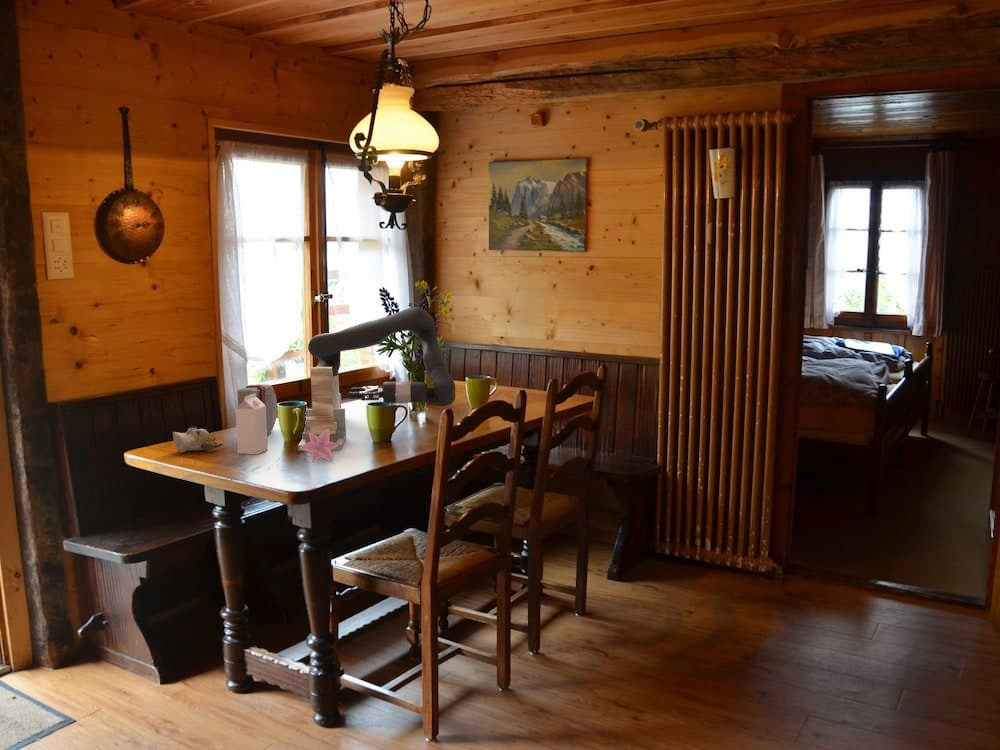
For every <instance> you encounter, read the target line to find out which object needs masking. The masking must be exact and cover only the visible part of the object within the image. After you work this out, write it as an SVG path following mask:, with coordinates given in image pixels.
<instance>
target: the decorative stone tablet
mask: <svg viewBox="0 0 1000 750" xmlns="http://www.w3.org/2000/svg"><path fill="white" fill-rule="evenodd" d="M236 393H237V395H236V396H237V407H238V406H239V405H240V404H241V403H242V402H243V401H244V397H246V396H249V395H252V394H255V393H256V397H257V398H258V399H259V400H260V401H261V402H262V403H263V404H264V405H265V406H266V422H267V436H268V435H270V433H271V432H272V431H273V430H274V427H275V424H276V421H277V415H278V412H277V411H278V404H277V395H276V393H275V390H274V388H273V386H272V385H270V384H249V385H246V386H245V387H243V388H239V389H237V391H236Z"/></svg>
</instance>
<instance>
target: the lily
mask: <svg viewBox="0 0 1000 750" xmlns="http://www.w3.org/2000/svg"><path fill="white" fill-rule="evenodd" d="M309 437H310V441H311V442H308V443H306V444H304V445H302V446H301V447H300V449H302V450H305V451H304V452H309V453H311V462H312V463H315V462H316V461H318V459H319V458H320V457H322V458H323V459H325V460H327V461H329V462H333V461H334V457H333V454H332V453H333V452H332V450H331V449H333V448H335V447H337V446H338V444H337V443H334V442H329V439H330V431H329V429H326V430H325V431H324V432H322V433H321V434H320V435H319V436H318V437H317V436H316V435H314V434H312V433H309Z"/></svg>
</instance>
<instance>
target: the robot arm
mask: <svg viewBox="0 0 1000 750" xmlns="http://www.w3.org/2000/svg"><path fill="white" fill-rule="evenodd" d="M403 331H408V332H410V333H411V334H413V335H414V336H416V337H417V339H418V341H419V342H420V344H421V346H422V351H423V353H422V360H423V361H422V362H423V366H424V368H425V370H426V374H427V375H428V378H429V379H430V380H431V382H432V383H433V386H434V387H430V386H428V383H426V382H424V381H423V382H422V381H421V382H420V381H417V382H416V381H415V382H414V381H411V382H410V381H384V382H383V384H382V386H381V385H376V386H375V385H368V386H367V385H365V386H363V387H351V388H350V391H349V392H348V394H347V395H348V399H349V400H361V401H363V402H364V401H380V399H382V400H383V401H382V402H383V404H385V405H386V404H387V405H389V404H391V405H392V404H393V405H396V404H399V405H400V404H408V403H409V404H410V403H424V404H428V405H433V406H438V407H446V406H449V405H452V404H453V403H454V402H455V401H456V391H457V390H456V383H455V381H454V379H453V377H452V375H451V373H450V372H449V371H448V368H447V365H446V363H445V360H444V357H443V354H442V352H441V350H440V347H439V346H440V345H439V341H438V337H437V331H436V326H435V322H434V319H433V317H432V316H431V315H430V314H429V313H428V312H426V311H425V310H423V309H422V308H420V307H419V306H412V307H411V306H410V307H408V308H405V309H402V310H400V311H398V312H396V313H392V314H391V315H386V316H384V317H380V318H377V319H373V320H367V321H365V322H361V323H358V324H355V325H353V326H349V327H347V328H344V329H342V330H340V331H336V332H328V333H320V334H317V335H314V336H313V337H312V338H311V339H310V340H309V342H308V345H307V349H308V352H309V353H310V355H311V356H312V357H314V358H316V359H319V361H318V363H317V365H316V366H315V367H332V372H333V400H334V409H335V408H342V393H340V389H339V388H340V381H339V372H340V367H341V352H345V351H352V350H358V349H359V350H360V349H366V348H370V347H373V346H378V345H380V344H382V343H383V342H384V341H385V340H387V339H388V338H389V336H390V335H393V334H394V333H398V332H403Z"/></svg>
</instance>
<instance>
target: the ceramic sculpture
mask: <svg viewBox="0 0 1000 750" xmlns="http://www.w3.org/2000/svg"><path fill="white" fill-rule="evenodd" d="M172 438H173V443H174V445H175V446H176V449H177V451H178V452H179V453H183V454H184V453H186V452H187V451H194V452H200V451H204V450H205V451H206V450H214V449H218V448H219V447H222V446H223V445H224V444H223V443H218V442H216V440H217V438H215V437H214V438H212V437H211V434H210V433H209V432H208V430H206V429H205V428H204V429H203V428H199V429H198V428H197V426H196V425H194V426H191V427H189V428H188V429H187V431H186V432H177V431H173V432H172Z"/></svg>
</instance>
